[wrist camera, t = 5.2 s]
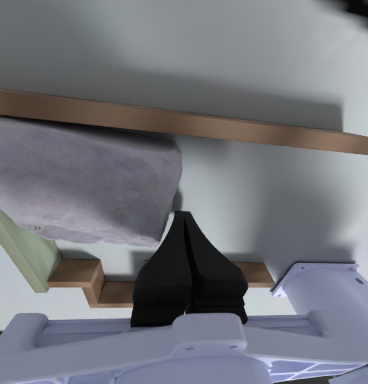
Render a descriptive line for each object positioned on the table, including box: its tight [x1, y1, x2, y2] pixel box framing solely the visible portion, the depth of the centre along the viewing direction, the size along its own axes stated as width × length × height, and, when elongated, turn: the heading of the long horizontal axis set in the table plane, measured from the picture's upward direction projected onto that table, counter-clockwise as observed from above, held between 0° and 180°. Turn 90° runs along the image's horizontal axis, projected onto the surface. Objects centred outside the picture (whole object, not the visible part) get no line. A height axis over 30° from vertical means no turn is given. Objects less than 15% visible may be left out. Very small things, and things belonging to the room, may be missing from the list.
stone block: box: [0, 115, 182, 247], centre depth 12 cm, size 12×5×10 cm
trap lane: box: [0, 89, 368, 308], centre depth 15 cm, size 25×22×3 cm
